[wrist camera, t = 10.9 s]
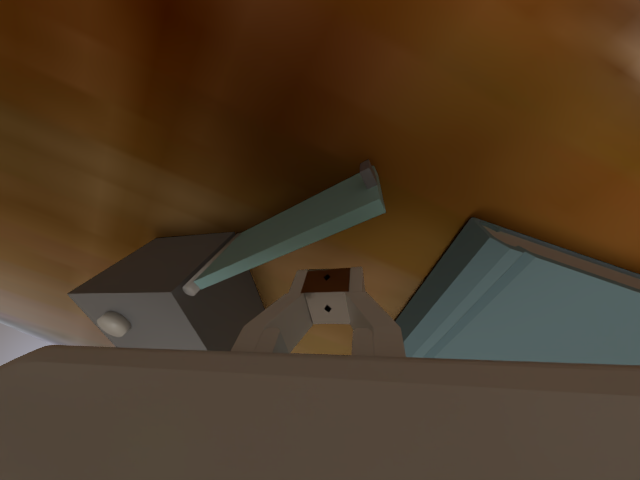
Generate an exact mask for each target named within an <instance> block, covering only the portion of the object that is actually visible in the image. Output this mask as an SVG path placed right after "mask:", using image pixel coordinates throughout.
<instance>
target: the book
mask: <svg viewBox="0 0 640 480" xmlns="http://www.w3.org/2000/svg"><path fill="white" fill-rule="evenodd" d="M395 322H396V323H397V324H398V325H399V327H400V328H401V332H402V338H403V343H404V349H405V354H406V357H415V358H444V359H474V360H503V361H532V362H562V363H591V364H620V365H640V274H637V273H634V272H631V271H628V270H626V269H623V268H620V267H617V266H614V265H611V264H608V263H605V262H602V261H599V260H596V259H594V258H591V257H588V256H585V255H582V254H579V253H576V252H573V251H570V250H567V249H564V248H562V247H559V246H556V245H553V244H550V243H547V242H544V241H541V240H538V239H535V238H532V237H530V236H527V235H524V234H521V233H518V232H515V231H512V230H509V229H506V228H503V227H500V226H498V225H495V224H492V223H489V222H486V221H483V220H480V219H477V218H470V220H469V221H468V223H467V224H466V225H465V227H464V228H463V229H462V231H461V232H460V234H459V235H458V236H457V238H456V239H455V240H454V242H453V243H452V244H451V246H450V247H449V249H448V250H447V251H446V253H445V254H444V255H443V257H442V258H441V259H440V261H439V262H438V264H437V265H436V266H435V268H434V269H433V270H432V272H431V273H430V275H429V276H428V277H427V279H426V280H425V281H424V283H423V284H422V285H421V287H420V288H419V290H418V291H417V292H416V294H415V295H414V296H413V298H412V299H411V301H410V302H409V303H408V305H407V306H406V307H405V309H404V310H403V311H402V313H401V314H400V316H399V317H398V318H397V320H396V321H395Z"/></svg>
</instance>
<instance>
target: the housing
mask: <svg viewBox="0 0 640 480" xmlns="http://www.w3.org/2000/svg"><path fill="white" fill-rule="evenodd" d="M234 236H235V232H226V233H214V234H202V235H190V236H177V237H165V238H156V239H154V240H152V241H151V242H149V243H148V244H146V245H144V246H143V247H141V248H140V249H138V250H136V251H135V252H133V253H132V254H130V255H128V256H127V257H125V258H124V259H122V260H120V261H119V262H117V263H116V264H114V265H112V266H111V267H109V268H108V269H106V270H104V271H103V272H101V273H100V274H98V275H96V276H95V277H93V278H92V279H90V280H88V281H87V282H85V283H83V284H82V285H80V286H79V287H77V288H75V289H74V290H72V291H71V292H69V293H67V294H68V295H69V297H70V298H71V299H72V300H73V301H74V302H75V303H76V304H77V305H78V306H79V307H80V308H81V310H82V311H83V312H84V313H85V314H86V315H87V316H88V317H89V318H90V319H91V320H92V321H93V323H94V324H95V325H96V326H97V327H98V328H99V329H100V330H101V331H102V332H103V333H104V335H105V336H106V337H107V338H108V339H109V340H110V341H111V342H112V343H113V344H114V345H115V346H116V347H122V348H151V349H181V350H210V351H231V349H232V347H233V345H234V344H235V342H236V340H237V338H238V336H239V334H240V332H241V330H242V328H243V327H244V326H245V325H246V324H247V323H249V322H250V321H251V320H252V319H254V318H255V317H256V316H258V315H259V314H260V313H261V312H263V311H264V310H265V309H264V306H263V304H262V301H261V299H260V296H259V294H258V291H257V289H256V286H255V283H254V281H253V278H252V276H251V273H250V271H249V270H247V271H244V272H242V273H239V274H237V275H235V276H232V277H230V278H227V279H225V280H223V281H220V282H218V283H216V284H213V285H211V286H208V287H206V288H204V289H200V290H199V291H198V292H197V293H196V294H195V295H194V296H190V295H187V294H186V293H185V292H184V291H183V286H184V285H185V284H186V283H187V282H188V281H189V280H190V279H191V278H192V277H193V276H194V275H195V274H196V273H197V272H198V271H200V270H201V269H202V268H203V267H204V266H205V265H206V264H207V263H208V262H209V261H210V260H211V259H212V258H213V257H214V256H215V255H216V254H217V253H218V252H219V251H220V250H221V249H222V248H223V247H224V246H225V245H226V244H227V243H228V242H229V241H230V240H231V239H232V238H233V237H234Z"/></svg>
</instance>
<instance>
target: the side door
mask: <svg viewBox="0 0 640 480" xmlns="http://www.w3.org/2000/svg"><path fill="white" fill-rule="evenodd" d="M383 213H386V210H385V205H384V201H383V196H382V191H381V186H380V182H379V177H378V174H377V171H376V169H375V167H374V166H371V163H370V161H369V159H368V160H366V161H364V162H362V163H360V172H359V173H358V174H356V175H354V176H352V177H350V178H348V179H346V180H344V181H342V182H340V183H338V184H336V185H334V186H332V187H330V188H328V189H326V190H324V191H322V192H321V193H319V194H317V195H315V196H313V197H311V198H309V199H307V200H305V201H303V202H301V203H299V204H297V205H295V206H293V207H291V208H289V209H287V210H285V211H283V212H281V213H279V214H277V215H275V216H273V217H271V218H269V219H267V220H265V221H264V222H262V223H260V224H258V225H256V226H254V227H252V228H250V229H248V230H246V231H244V232H242V233H237V234H236V235H235V236H234V237H233V238H232V239H231V240H230V241H229V242H228V243H227V244H226V245H225V246H224V247H223V248H222V249H221V250H220V251H219V252H218V253H217V254H216V255H215V256H214V257H213V258H212V259H211V260H210V261H209V262H208V263H207V264H206V265H205V266H204V267H203V268H202V269H201V270H200V271H198V272H197V273H196V274H195V275H194V276H193V277H192V278H191V279H190V280H189V281H188V282H187V283H186V284H185V285H184V286H183V291H184V292H185V293H186V294H187V295H190V296H194V295H195V294H196V293H197V292H198V291H199V290H200V289H204V288H206V287H208V286H211V285H213V284H216V283H218V282H220V281H223V280H225V279H227V278H230V277H232V276H235V275H237V274H239V273H242V272H244V271H247V270H249V269H251V268H254V267H256V266H259V265H261V264H263V263H266V262H268V261H271V260H273V259H275V258H278V257H280V256H283V255H285V254H287V253H290V252H292V251H295V250H297V249H299V248H302V247H304V246H306V245H309V244H311V243H314V242H316V241H318V240H321V239H323V238H326V237H328V236H330V235H333V234H335V233H338V232H340V231H342V230H345V229H347V228H350V227H352V226H354V225H357V224H359V223H362V222H364V221H366V220H369V219H371V218H374V217H376V216H378V215H381V214H383Z"/></svg>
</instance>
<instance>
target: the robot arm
mask: <svg viewBox="0 0 640 480" xmlns="http://www.w3.org/2000/svg"><path fill="white" fill-rule="evenodd" d="M312 324H350V325H351V327H352V328H353V330H354V331H353V341H352V355H328V354H299V353H290V352H291V351H292V350H293V348H294V347H295V346H296V345H297V343H298V342H299V341H300V340H301V339H302V337H303V336H304V335H305V334H306V332H307V331H308V330H309V329H310V328H311V326H312ZM0 480H640V365H620V364H591V363H562V362H532V361H503V360H474V359H444V358H415V357H406V354H405V349H404V343H403V338H402V332H401V328H400V327H399V325H398V324H397V323H396V322H395V321H394V320H393V319H392V318H391V317H390V316H389V315H388V314H387V313H386V312H385V311H384V310H383V309H382V308H381V307H380V306H379V305H378V304H377V303H376V302H375V300H374V299H373V298H372V297H371V296H370V295H369V294H368V293H367V292H365V286H364V276H363V268H362V267H351V268H339V269H309V270H298V271H297V273H296V275H295V278H294V280H293V283H292V286H291V288H290V291H289V293H288V294H284V295H283V296H282V297H281V298H279V299H278V300H277V301H276V302H274V303H273V304H272V305H270V306H269V307H268V308H267V309H265V310H264V311H263V312H261V313H260V314H259V315H258V316H256V317H255V318H254V319H252V320H251V321H250V322H249V323H247V324H246V325H245V326H244V327H243V328H242V330H241V332H240V334H239V336H238V338H237V340H236V342H235V344H234V345H233V347H232V349H231V351H210V350H181V349H151V348H122V347H93V346H66V345H49V346H44V347H42V348H39V349H36V350H34V351H32V352H29V353H27V354H25V355H23V356H20V357H18V358H16V359H14V360H12V361H10V362H8V363H6V364H3V365H2V366H0Z"/></svg>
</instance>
